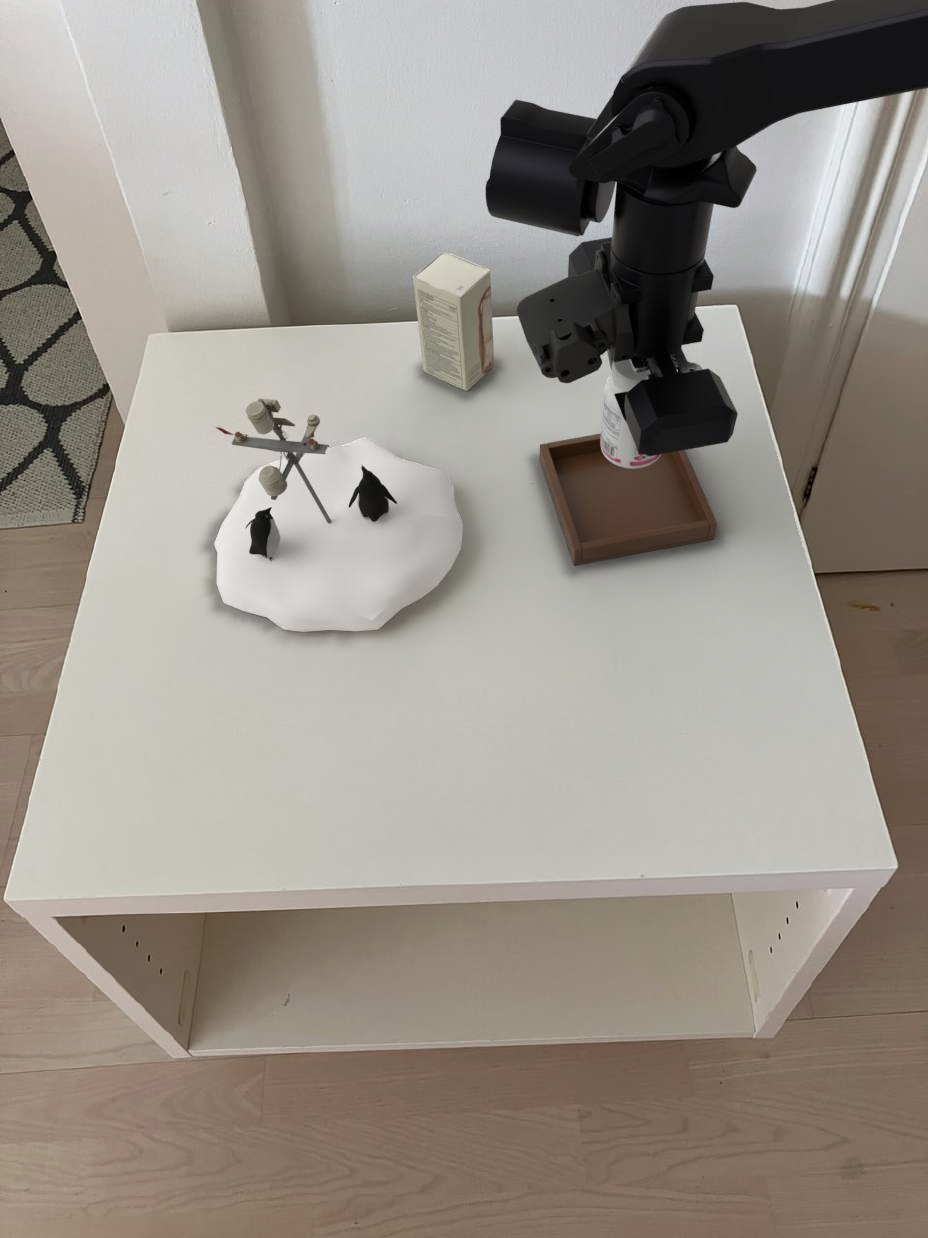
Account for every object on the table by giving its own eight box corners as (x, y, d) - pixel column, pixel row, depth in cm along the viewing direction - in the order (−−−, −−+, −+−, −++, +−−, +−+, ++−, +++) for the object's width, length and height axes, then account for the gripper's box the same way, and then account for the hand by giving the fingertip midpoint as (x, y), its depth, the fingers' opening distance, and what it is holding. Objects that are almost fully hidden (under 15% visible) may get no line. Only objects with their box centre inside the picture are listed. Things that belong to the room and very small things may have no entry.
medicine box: (496, 364, 91) (494, 270, 83) (466, 393, 89) (461, 299, 81) (450, 342, 93) (443, 247, 84) (420, 370, 91) (410, 276, 83)
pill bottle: (668, 429, 77) (683, 343, 70) (657, 475, 75) (671, 390, 68) (606, 419, 78) (614, 332, 71) (593, 464, 76) (601, 379, 69)
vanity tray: (669, 436, 85) (672, 420, 84) (713, 539, 79) (717, 524, 78) (539, 459, 84) (539, 443, 83) (573, 565, 78) (574, 550, 77)
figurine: (465, 442, 84) (432, 282, 71) (464, 629, 74) (425, 485, 61) (233, 464, 87) (158, 313, 73) (202, 647, 77) (108, 513, 63)
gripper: (496, 178, 67) (500, 361, 80) (568, 371, 56) (559, 545, 69) (661, 151, 67) (638, 337, 80) (761, 337, 57) (717, 515, 70)
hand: (634, 427), depth 75 cm, fingers closed on pill bottle, 5 cm apart
